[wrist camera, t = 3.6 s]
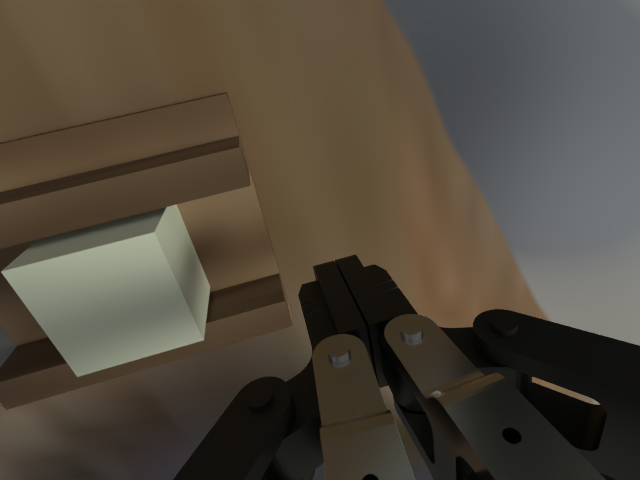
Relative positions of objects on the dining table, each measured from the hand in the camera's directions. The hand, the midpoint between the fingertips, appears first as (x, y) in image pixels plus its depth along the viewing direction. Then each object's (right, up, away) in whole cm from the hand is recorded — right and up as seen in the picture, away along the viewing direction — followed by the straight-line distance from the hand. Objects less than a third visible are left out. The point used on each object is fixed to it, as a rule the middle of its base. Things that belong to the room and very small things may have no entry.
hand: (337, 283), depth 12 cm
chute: (-10, +1, +5) cm, 11 cm away
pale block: (-9, +1, +4) cm, 10 cm away
